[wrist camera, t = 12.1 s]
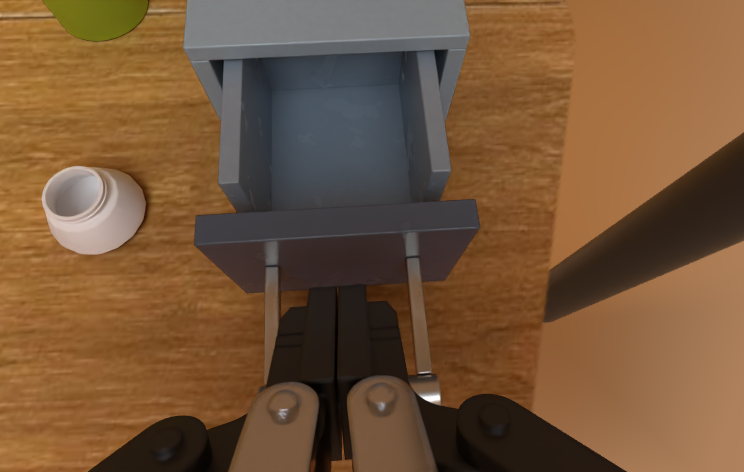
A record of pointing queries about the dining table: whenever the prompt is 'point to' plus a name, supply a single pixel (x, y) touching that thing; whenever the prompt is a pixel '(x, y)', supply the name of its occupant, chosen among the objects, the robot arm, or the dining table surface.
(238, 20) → the drawer unit
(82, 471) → the dining table surface
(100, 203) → the white jar
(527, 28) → the dining table surface
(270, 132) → the compartment
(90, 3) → the soap dispenser
